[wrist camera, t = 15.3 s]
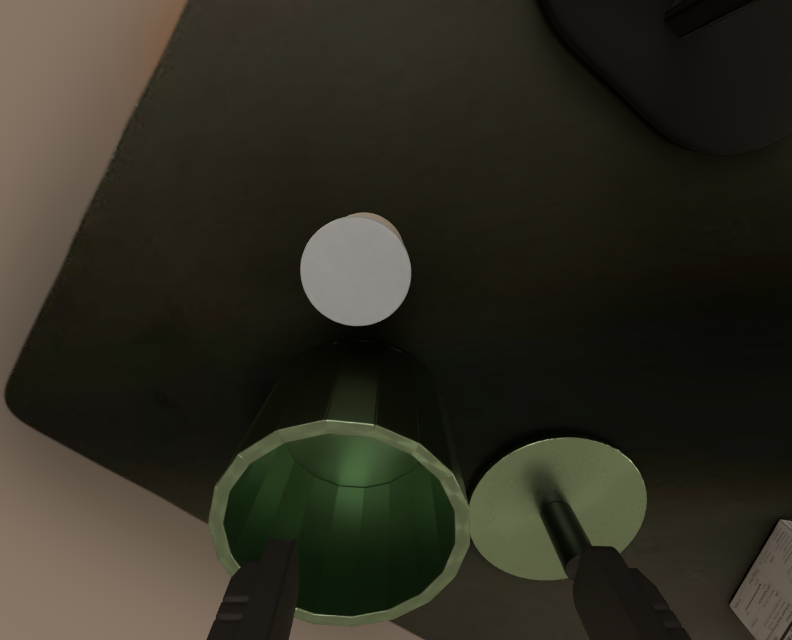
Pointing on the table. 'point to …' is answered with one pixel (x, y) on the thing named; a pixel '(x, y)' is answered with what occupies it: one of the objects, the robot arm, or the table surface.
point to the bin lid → (555, 504)
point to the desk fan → (691, 64)
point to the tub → (356, 269)
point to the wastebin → (349, 484)
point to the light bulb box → (769, 589)
